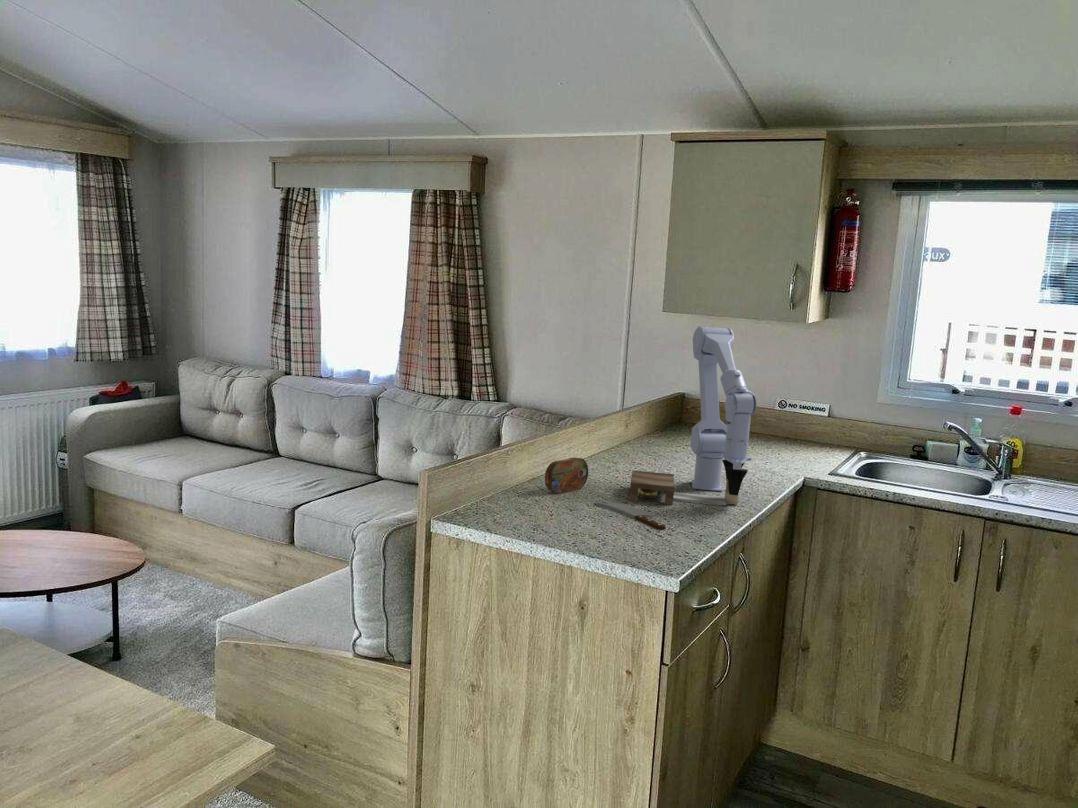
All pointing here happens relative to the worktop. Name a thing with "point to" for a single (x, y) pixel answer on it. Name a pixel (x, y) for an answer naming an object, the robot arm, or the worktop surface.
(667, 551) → the worktop surface
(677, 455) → the worktop surface
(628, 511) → the kitchen knife
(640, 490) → the brass token
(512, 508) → the worktop surface
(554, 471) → the tin
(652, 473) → the low shelf
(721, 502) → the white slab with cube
